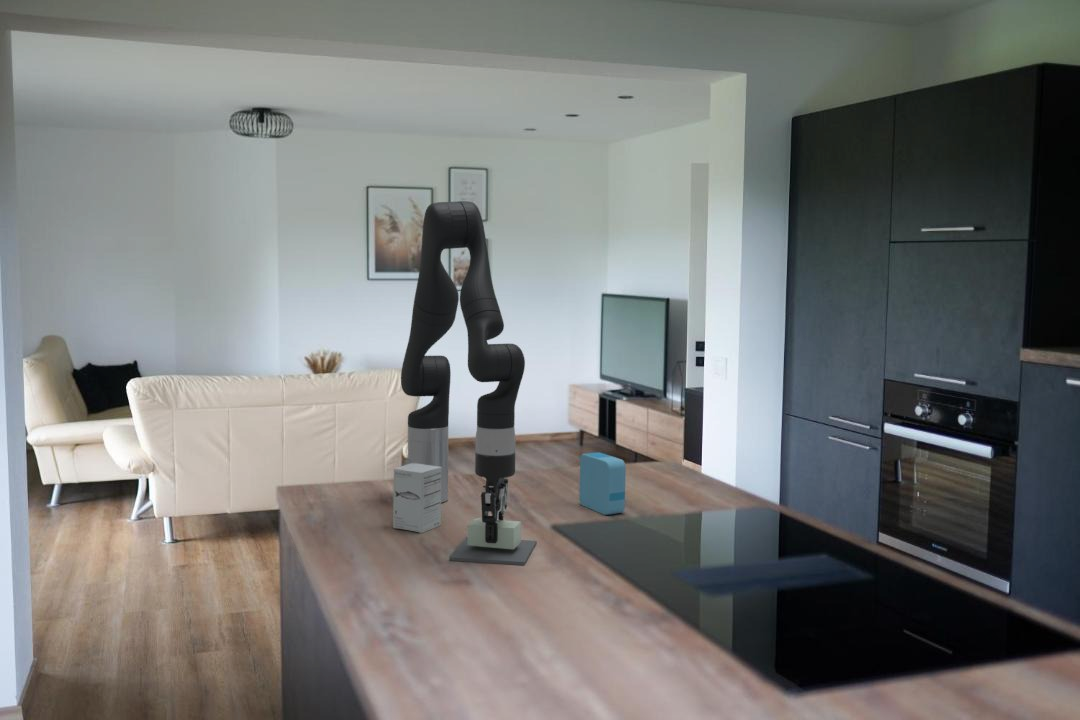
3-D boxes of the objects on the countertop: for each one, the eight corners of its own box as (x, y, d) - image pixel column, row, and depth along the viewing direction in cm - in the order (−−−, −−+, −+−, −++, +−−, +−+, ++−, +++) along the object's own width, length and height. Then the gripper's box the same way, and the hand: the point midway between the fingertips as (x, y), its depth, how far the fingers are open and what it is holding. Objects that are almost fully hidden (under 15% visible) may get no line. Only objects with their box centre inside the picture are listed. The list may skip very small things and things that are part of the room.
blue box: (625, 514, 217) (626, 460, 215) (607, 516, 214) (609, 462, 213) (595, 502, 227) (596, 451, 226) (578, 504, 225) (579, 452, 224)
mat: (449, 560, 181) (449, 557, 181) (466, 539, 195) (466, 536, 195) (524, 565, 179) (524, 562, 179) (536, 543, 193) (536, 540, 193)
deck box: (513, 549, 183) (513, 528, 183) (467, 545, 185) (467, 524, 185) (520, 542, 188) (521, 521, 188) (475, 538, 190) (476, 517, 190)
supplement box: (391, 528, 202) (392, 468, 201) (412, 520, 208) (413, 461, 207) (421, 533, 198) (422, 472, 197) (442, 525, 205) (442, 465, 204)
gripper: (508, 458, 177) (506, 550, 179) (521, 444, 191) (520, 529, 193) (467, 456, 178) (466, 548, 180) (483, 442, 193) (482, 527, 194)
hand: (494, 538), depth 187 cm, fingers closed on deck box, 5 cm apart
